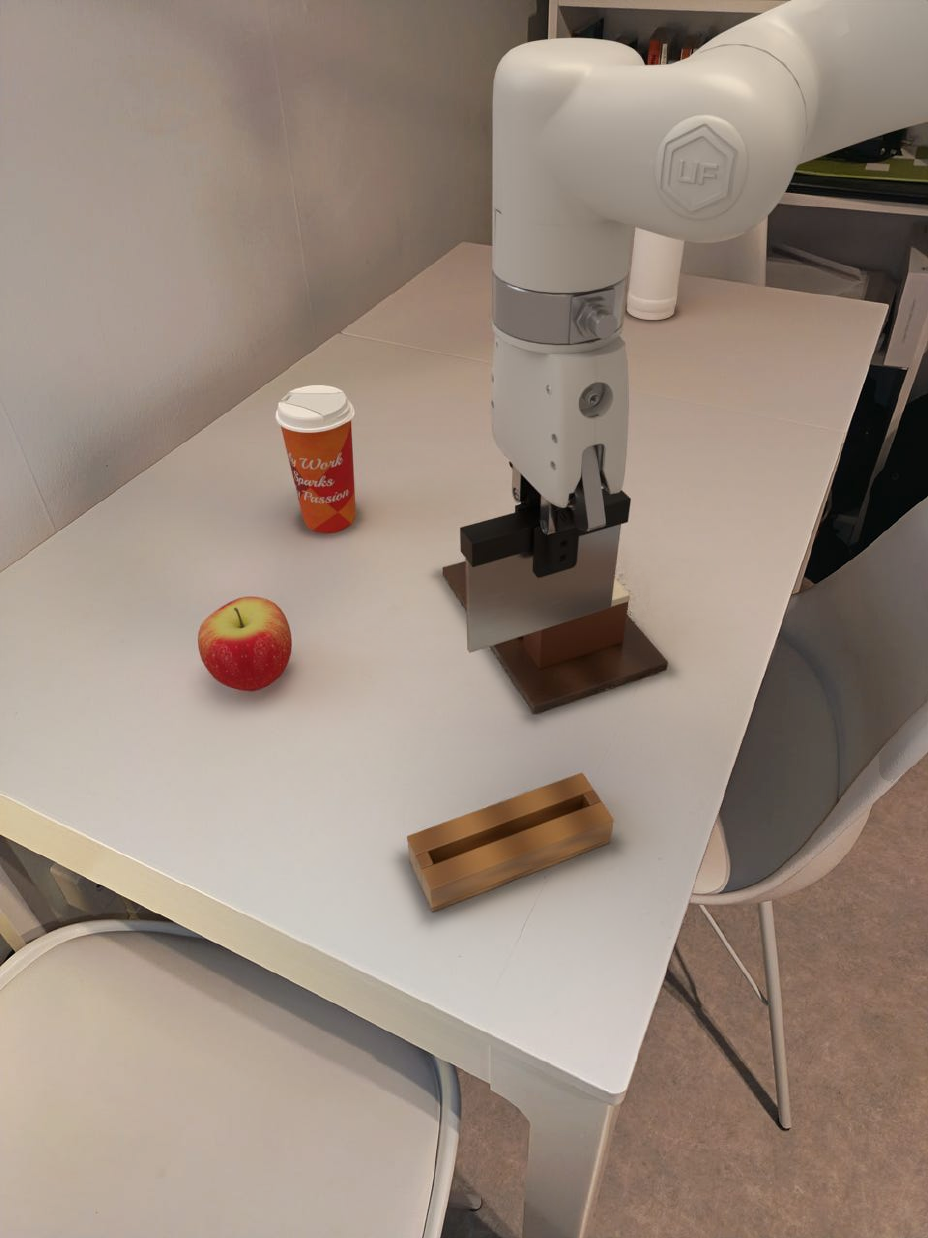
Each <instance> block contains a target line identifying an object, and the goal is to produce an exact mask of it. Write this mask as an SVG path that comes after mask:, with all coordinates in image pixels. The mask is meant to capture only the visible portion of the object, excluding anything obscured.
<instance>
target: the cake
mask: <svg viewBox="0 0 928 1238" xmlns="http://www.w3.org/2000/svg"><path fill="white" fill-rule="evenodd" d="M441 569H442V576H444V578H445V580H446V581H447V583H448V585H449V586H450V587H451V589H452V591H453V592H454V594H455V595H456V597H457V599H458V600H459V602H460V603H461V604H462V606H463V608H464V609H465V610H466V566H465V560H463V561H461V562H457V563H453V564H450V565H446V566H443V567H442V568H441ZM466 612H467V610H466ZM523 638H524V636H520V637H517V638H514V639H511V640H508V641H505V642H502V643H499V644H496V645H493V646H489V648H490V649H491V651H492V652H493V654H494V655H495V656H496V658H497V661H498V662H499V663H500V664H501V666H502V667H503V669H504V670H505V672H506V673H507V675H508V676H509V678H510V680H511V681H512V683H513V684H514V685H515V687H516V688H517V690H518V692H519V693H520V695H521V696H522V698H523V699H524V701H525V703H526V704H527V705H528V707H529V709H530V710H531V712H532V713H533V714H538V713H541V712H544V711H547V710H551V709H553V708H556V707H559V706H561V705H564V704H568V703H571V702H573V701H577V700H580V699H583V698H586V697H588V696H592V695H594V694H598V693H600V692H601V693H602V692H604V691H606V690H610V689H613V688H615V687H618V686H621V685H624V684H627V683H630V682H633V681H636V680H639V679H642V678H645V677H647V676H651V675H654V674H657V673H660V672H664V671H667V670H668V665H669V662H668V659H666V657H664V655H663V654H662V653H661V652H660V651H659V650H658V648H657V647H656V646H655V645H654V644H653V642H652V641H651V640H650V639H649V638H648V636H646V634H644V632H643V631H642V630H641V628H640V627H639V626H638V625H637V624H636V623H635V621H634V620H633V619H632V618H631V617H630V616H629V615H628V614H627V618H626V625H625V632H624V640H623V643H620V644H617V645H614V646H611V647H607V648H604V649H601V650H598V651H595V652H592V653H589V654H586V655H582V656H579V657H576V658H573V659H570V660H567V661H564V662H561V663H558V664H554V665H551V666H548V667H545V668H542V669H539V668H538V667H537V665H536V664H535V662H534V661H533V659H532V658H531V657H530V655H529V654H528V652H527V651H526V649H525V648H524V646H523Z"/></svg>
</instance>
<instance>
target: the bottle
mask: <svg viewBox="0 0 928 1238" xmlns="http://www.w3.org/2000/svg"><path fill="white" fill-rule="evenodd" d="M633 238H634V239H633V246H632V254H631V266H630V273H629V274H630V275H629V282H628V283H629V285H628V289H627V295H626V311H627V313H628V315H630V316H632V317H634V318H635V319H639V320H644V321H660V320H666V319H668V318H670V317H672V316H673V315H674V314H675V310H676V305H677V300H678V290H679V281H680V274H681V267H682V261H683V253H684V248H685V241H682V240H677V239H673V238H669V237H665V236H662V235H659V234H656V233H652V232H649V231H646V230H643V229H640V228H637V227H634V237H633Z"/></svg>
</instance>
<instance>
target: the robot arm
mask: <svg viewBox="0 0 928 1238" xmlns="http://www.w3.org/2000/svg"><path fill="white" fill-rule="evenodd" d="M492 89H493V90H492V189H491V190H492V194H491V196H492V199H491V200H492V201H491V204H492V205H491V206H492V209H491V210H492V212H491V215H492V217H491V219H492V220H491V221H492V222H491V223H492V225H491V226H492V231H491V232H492V234H491V235H492V237H491V238H492V239H491V241H492V242H491V244H492V248H491V250H492V251H491V254H492V255H491V257H492V258H491V259H492V260H491V263H492V264H491V265H492V267H491V268H492V269H491V280H492V281H491V295H492V296H491V317H492V318H491V328H492V329H491V330H492V332H493V333H494V341H493V353H492V367H491V368H492V369H491V370H492V371H491V385H490V386H491V387H490V418H491V421H490V422H491V432H492V437H493V441H494V442H495V444H496V446H497V448H498V449H499V450H500V452H501V453H502V454H503V455H504V456H505V458H506V460H508V461H509V462H508V464H509V467H510V468H511V471H512V474H511V475H512V476H511V477H512V478H511V480H512V481H511V495H512V497H513V500H514V501H515V503H516V504H515V505H514V513H515V512H519V511H522V510H526V509H529V508H533V507H537V506H540V505H541V511H540V526H538V527H535V528H534V546H533V573H534V574H535V575H536V577H538V578H541V577H544V576H548V575H551V574H554V573H557V572H561V571H564V570H567V569H571V568H573V567H574V566H575V565H576V564H577V555H578V543H579V531H580V530H583V531H590V530H594V529H597V528H601V527H604V526H605V524H606V518H605V511H604V503H603V495H602V488H604V489H606V490H607V491H608V492H609V493H610V494H613V493H614V494H616V493H619V492H620V491H621V490H622V489H623V487H624V483H625V476H626V466H627V454H628V440H629V416H630V415H629V413H630V383H629V364H628V362H629V361H628V353H627V346H626V341H625V340H624V339H623V338H622V337H621V335H622V334H623V331H624V323H625V313H626V305H627V296H628V286H629V285H628V283H629V277H630V275H629V274H630V264H631V256H632V254H631V253H632V247H633V246H632V245H633V244H632V243H633V235H634V228H635V227H637V228H640V229H643V230H646V231H649V232H652V233H656V234H659V235H662V236H665V237H669V238H673V239H677V240H682V241H684V242H688V243H689V242H690V243H694V244H695V243H696V244H713V243H720V242H725V241H729V240H732V239H735V238H738V237H740V236H742V235H744V234H746V233H747V232H750V231H751V230H753V229H754V228H756V227H757V226H758V225H760V224H761V223H762V222H763V221H764V220H765V219H766V218H767V217H768V216H769V215H770V214H771V213H772V212H773V211H774V209H775V208H776V207H777V205H778V204H779V203H780V201H781V200H782V198H783V197H784V195H785V193H786V191H787V189H788V187H789V186H790V183H791V181H792V179H793V176H794V174H795V171H796V169H797V167H798V166H799V165H801V164H804V163H807V162H810V161H812V160H815V159H818V158H820V157H823V156H826V155H828V154H832V153H834V152H836V151H839V150H842V149H844V148H847V147H850V146H853V145H857V144H860V143H862V142H865V141H867V140H870V139H873V138H877V137H880V136H883V135H886V134H888V133H892V132H895V131H899V130H902V129H906V128H909V127H913V126H917V125H921V124H924V123H925V124H926V123H928V0H788V1H787V2H784V3H782V4H779V5H778V6H776V7H773V8H771V9H769V10H767V11H765V12H762V13H760V14H757V15H756V16H754V17H751V18H749V19H747V20H745V21H743V22H740V23H739V24H736V25H734V26H733V27H730V28H729V29H727V30H725V31H723V32H720V33H719V34H718V35H716V36H714V37H713V38H712V39H710V40H708V42H706V43H705V44H703V45H701V46H700V47H699V48H698V49H696V50H695V51H694V52H693V53H692V54H691V55H690V56H688V57H686V58H684V59H681V60H677V61H676V62H672V63H667V64H645V62H644V59H643V58H642V56H641V55H640V54H639V52H638V51H636V49H634V48H632V47H630V46H629V45H626V44H624V43H621V42H618V41H614V40H608V39H600V38H589V37H588V38H587V37H561V38H560V37H558V38H548V39H547V38H546V39H540V40H533V41H529V42H525V43H522V44H520V45H518V46H515V47H513V48H511V49H510V50H509V51H508V52H506V53H505V55H503V56H502V58H501V59H500V61H499V62H498V64H497V67H496V70H495V73H494V77H493V85H492ZM568 499H571V500H570V501H569V500H568ZM569 502H570V506H567V504H568V503H569ZM517 503H518V504H517ZM557 506H558V507H561V509H559V510H558V511H557ZM566 506H567V507H566Z"/></svg>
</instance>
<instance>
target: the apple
mask: <svg viewBox="0 0 928 1238" xmlns="http://www.w3.org/2000/svg"><path fill="white" fill-rule="evenodd" d="M292 639H293V638H292V631H291V627H290V623H289V621H288V619H287V616H286V615H285V613H284V612H283V610H282V609H281V607H279V605H278V604H277V603H275V602H273V601H272V600H269V599H267V598H264V597H259V596H241V597H238V598H236V599H233V600H231V601H229V602H226V604H224V605H222V606H221V607H219V608H217V609H215V611H213V612H212V613H211V614H210V615H209V616H208V617H206V618H205V619H204V620H203V621H202V623H201V625H200V627H199V630H198V635H197V647H198V652H199V655H200V659H201V661H202V663H203V666H204V667H205V669H206V670H207V672H208V674H210V675H211V677H213V678H214V679H215V680H216V681H217V682H219V684H220V683H221V684H222V685H223V686H225V687H227V688H230V689H233V690H236V691H241V692H255V691H259V690H263V689H265V688H266V687H268V686H270V685H271V684H273V683H274V682H276V681H277V680H278V679H280V677H281V676H282V675H283V674H284V672H285V671H286V669H287V667H288V665H289V662H290V659H291V655H292V647H293V646H292V645H293V641H292Z"/></svg>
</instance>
